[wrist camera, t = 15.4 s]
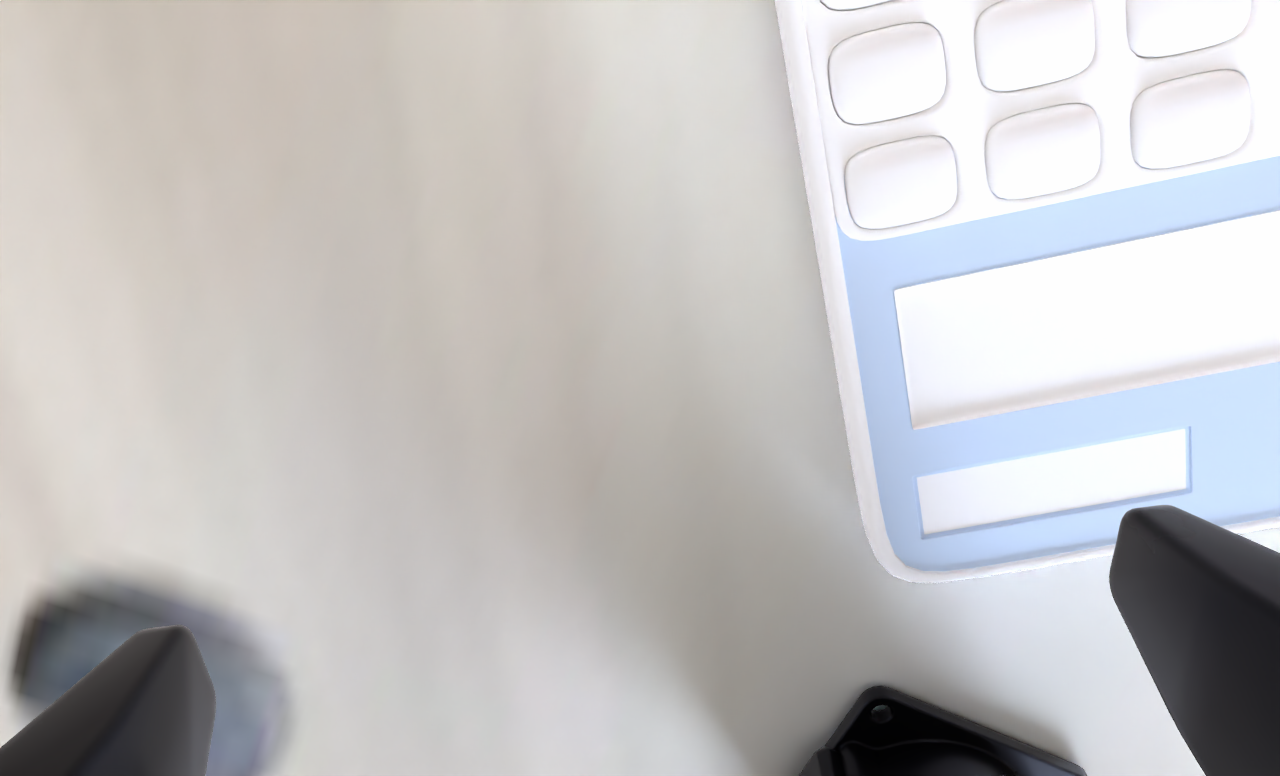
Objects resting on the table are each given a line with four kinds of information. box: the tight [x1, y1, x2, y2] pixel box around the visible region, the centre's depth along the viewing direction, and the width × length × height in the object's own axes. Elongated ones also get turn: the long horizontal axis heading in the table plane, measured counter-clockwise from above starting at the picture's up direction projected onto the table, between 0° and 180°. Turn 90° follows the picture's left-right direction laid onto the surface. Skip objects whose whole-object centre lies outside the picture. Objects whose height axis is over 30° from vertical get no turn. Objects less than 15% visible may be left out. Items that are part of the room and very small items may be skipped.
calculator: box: [775, 0, 1280, 583], centre depth 17 cm, size 13×20×2 cm, turn 13°
